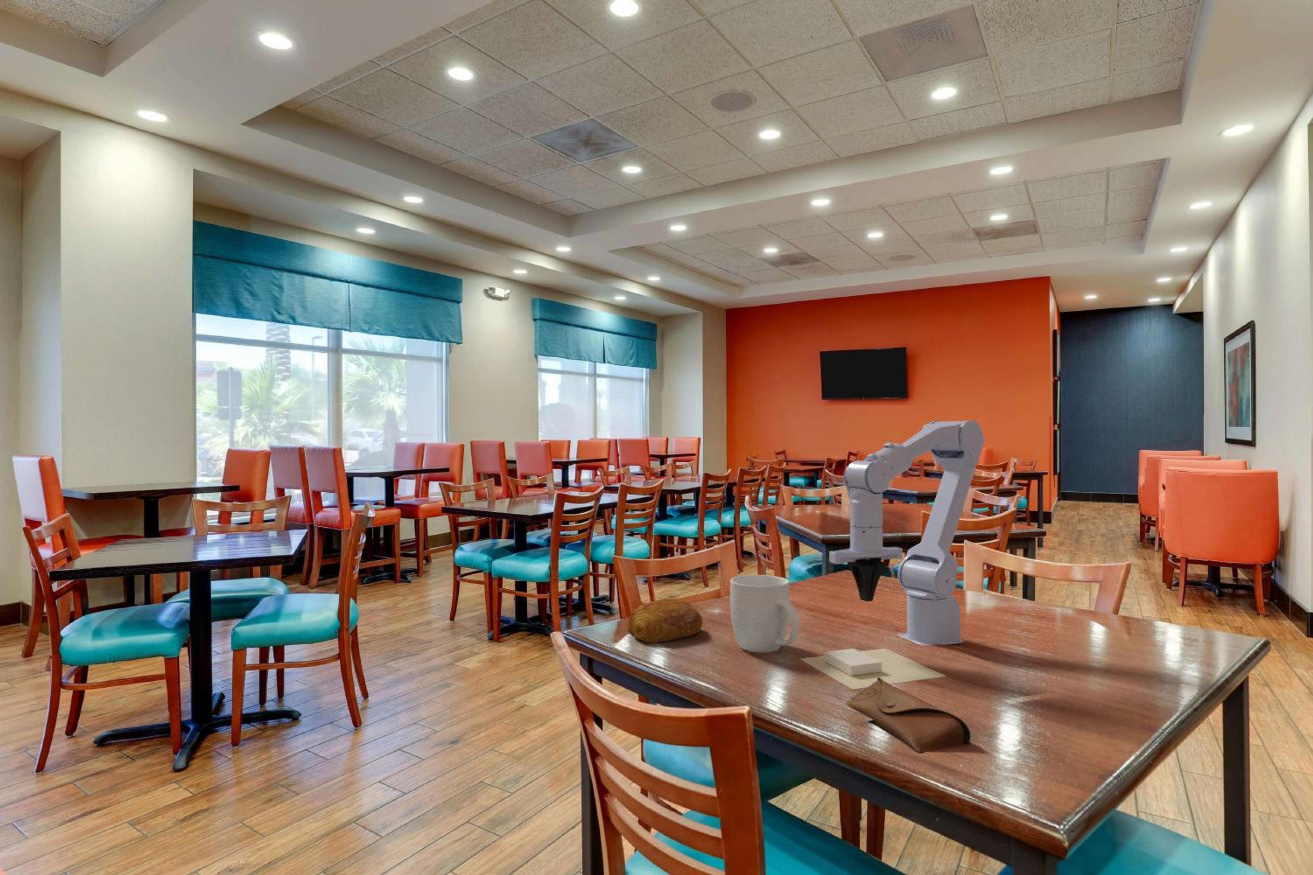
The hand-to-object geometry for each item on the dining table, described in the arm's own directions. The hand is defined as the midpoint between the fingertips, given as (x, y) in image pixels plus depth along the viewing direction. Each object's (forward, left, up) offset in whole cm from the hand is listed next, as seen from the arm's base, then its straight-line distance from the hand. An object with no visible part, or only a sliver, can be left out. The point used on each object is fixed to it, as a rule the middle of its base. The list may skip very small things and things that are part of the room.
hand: (866, 600), depth 130 cm
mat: (+5, +8, -10) cm, 14 cm away
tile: (+5, +7, -8) cm, 12 cm away
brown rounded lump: (+30, -26, -10) cm, 41 cm away
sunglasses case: (+15, +28, -11) cm, 33 cm away
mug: (+17, -8, -10) cm, 21 cm away
